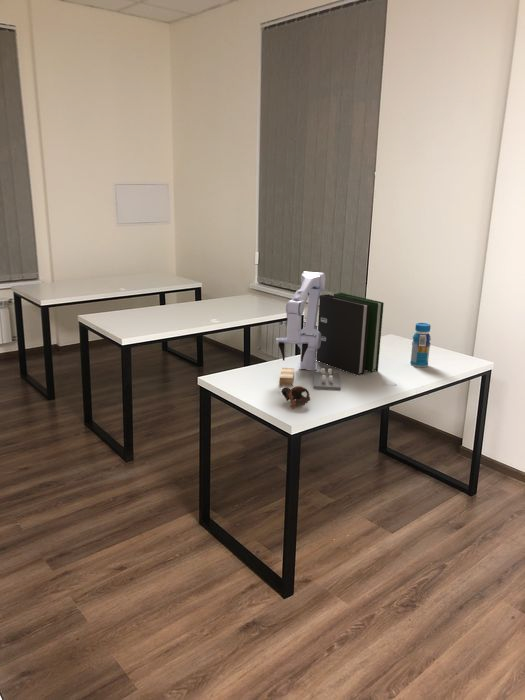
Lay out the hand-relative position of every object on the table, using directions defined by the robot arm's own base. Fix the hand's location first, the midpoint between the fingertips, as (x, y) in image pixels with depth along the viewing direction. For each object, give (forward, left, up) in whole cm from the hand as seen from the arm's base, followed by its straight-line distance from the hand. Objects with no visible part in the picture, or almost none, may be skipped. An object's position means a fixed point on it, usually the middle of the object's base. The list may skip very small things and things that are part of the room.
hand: (292, 360), depth 247 cm
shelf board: (-2, -2, -10) cm, 10 cm away
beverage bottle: (-34, +60, -10) cm, 69 cm away
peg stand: (-2, +15, -10) cm, 18 cm away
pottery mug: (+27, +2, -10) cm, 29 cm away
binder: (-27, +25, -10) cm, 38 cm away
